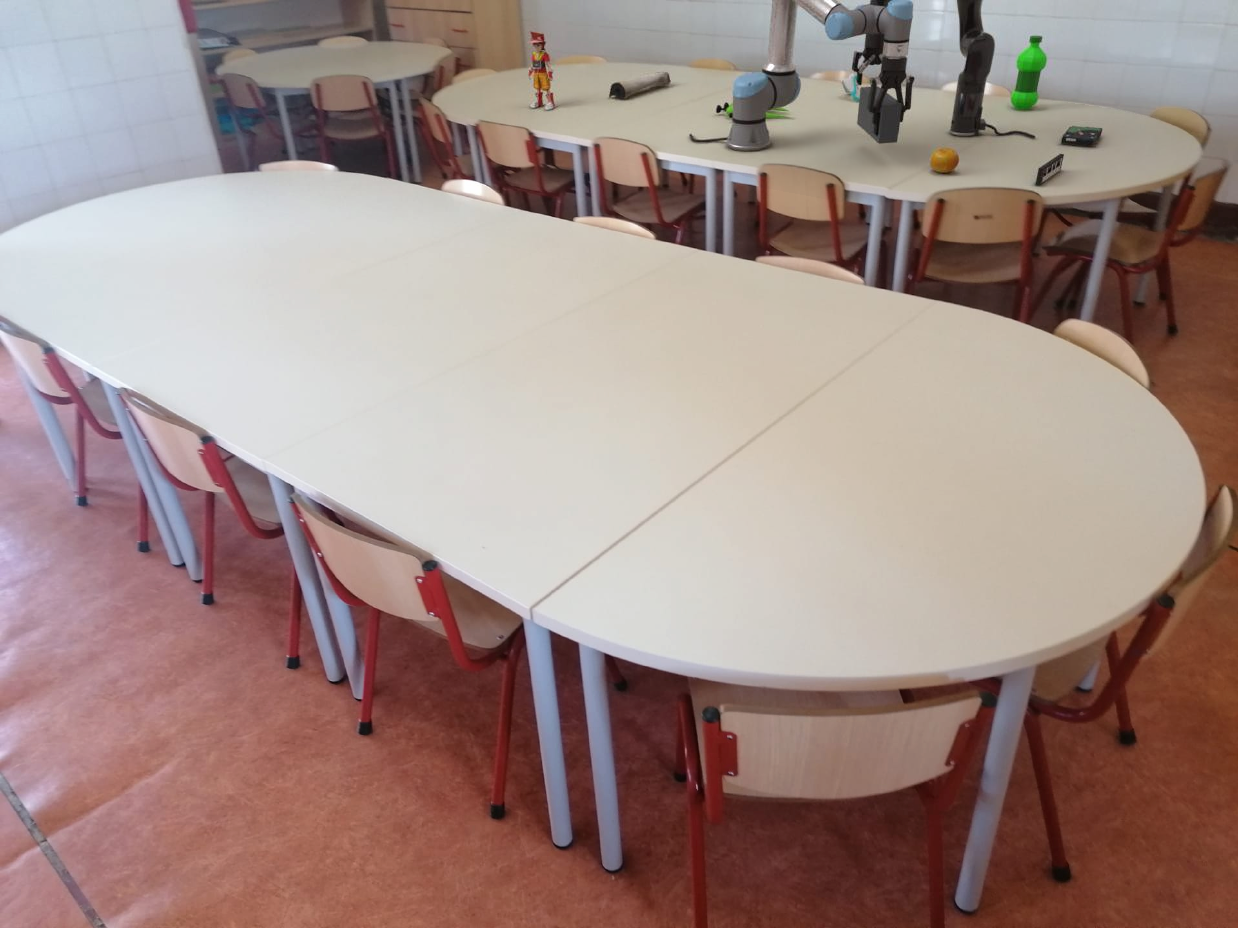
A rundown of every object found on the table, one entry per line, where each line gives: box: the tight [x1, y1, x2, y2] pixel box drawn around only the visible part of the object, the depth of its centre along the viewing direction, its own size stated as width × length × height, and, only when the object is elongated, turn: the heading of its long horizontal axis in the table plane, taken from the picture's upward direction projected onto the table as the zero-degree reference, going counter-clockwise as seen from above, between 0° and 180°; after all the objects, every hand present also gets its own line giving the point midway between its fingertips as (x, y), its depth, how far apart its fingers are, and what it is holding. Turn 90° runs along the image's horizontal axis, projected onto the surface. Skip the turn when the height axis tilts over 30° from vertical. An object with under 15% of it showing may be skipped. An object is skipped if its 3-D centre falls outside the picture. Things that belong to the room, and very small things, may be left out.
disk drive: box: [1060, 125, 1103, 147], centre depth 304 cm, size 10×3×15 cm
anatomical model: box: [841, 72, 870, 102], centre depth 366 cm, size 15×10×10 cm
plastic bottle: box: [1010, 35, 1048, 111], centre depth 335 cm, size 10×10×25 cm
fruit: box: [929, 147, 960, 174], centre depth 283 cm, size 8×8×8 cm
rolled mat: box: [608, 71, 672, 101], centre depth 395 cm, size 30×9×10 cm
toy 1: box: [527, 31, 556, 111], centre depth 374 cm, size 12×9×30 cm
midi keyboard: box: [1035, 153, 1065, 186], centre depth 273 cm, size 18×1×5 cm, turn 138°
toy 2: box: [715, 101, 793, 119], centre depth 353 cm, size 28×5×30 cm
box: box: [856, 85, 902, 145], centre depth 296 cm, size 25×6×12 cm, turn 3°
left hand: (885, 133), depth 290 cm, fingers closed on box, 6 cm apart
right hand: (872, 84), depth 299 cm, fingers open, 8 cm apart
